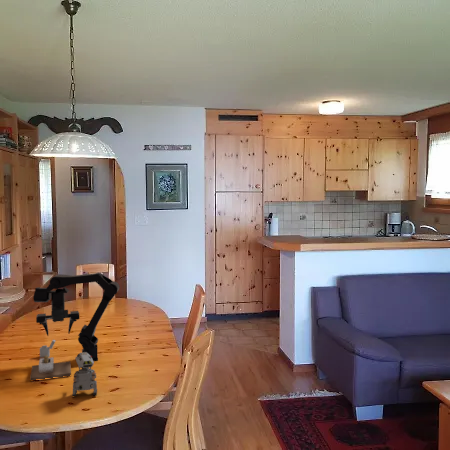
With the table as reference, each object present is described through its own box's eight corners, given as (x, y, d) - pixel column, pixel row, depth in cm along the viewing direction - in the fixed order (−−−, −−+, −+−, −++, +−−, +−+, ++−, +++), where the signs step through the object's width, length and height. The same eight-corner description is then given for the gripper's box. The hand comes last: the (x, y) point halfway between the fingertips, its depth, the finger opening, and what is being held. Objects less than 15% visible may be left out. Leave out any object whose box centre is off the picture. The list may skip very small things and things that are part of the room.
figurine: (98, 385, 177) (97, 349, 176) (96, 398, 166) (95, 360, 165) (74, 387, 175) (74, 351, 174) (71, 400, 164) (70, 361, 163)
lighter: (39, 357, 207) (39, 341, 207) (40, 356, 209) (40, 339, 208) (55, 356, 208) (55, 340, 208) (56, 355, 210) (55, 339, 210)
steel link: (53, 366, 193) (53, 357, 193) (53, 372, 187) (52, 363, 186) (40, 367, 191) (39, 358, 191) (38, 373, 185) (38, 364, 184)
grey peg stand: (70, 364, 199) (70, 347, 199) (70, 376, 186) (70, 358, 185) (32, 368, 193) (32, 351, 193) (30, 381, 180) (29, 363, 180)
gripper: (35, 307, 192) (35, 342, 193) (79, 304, 199) (80, 337, 200) (36, 301, 202) (37, 334, 203) (78, 299, 209) (79, 330, 210)
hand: (58, 334), depth 204 cm, fingers open, 9 cm apart
